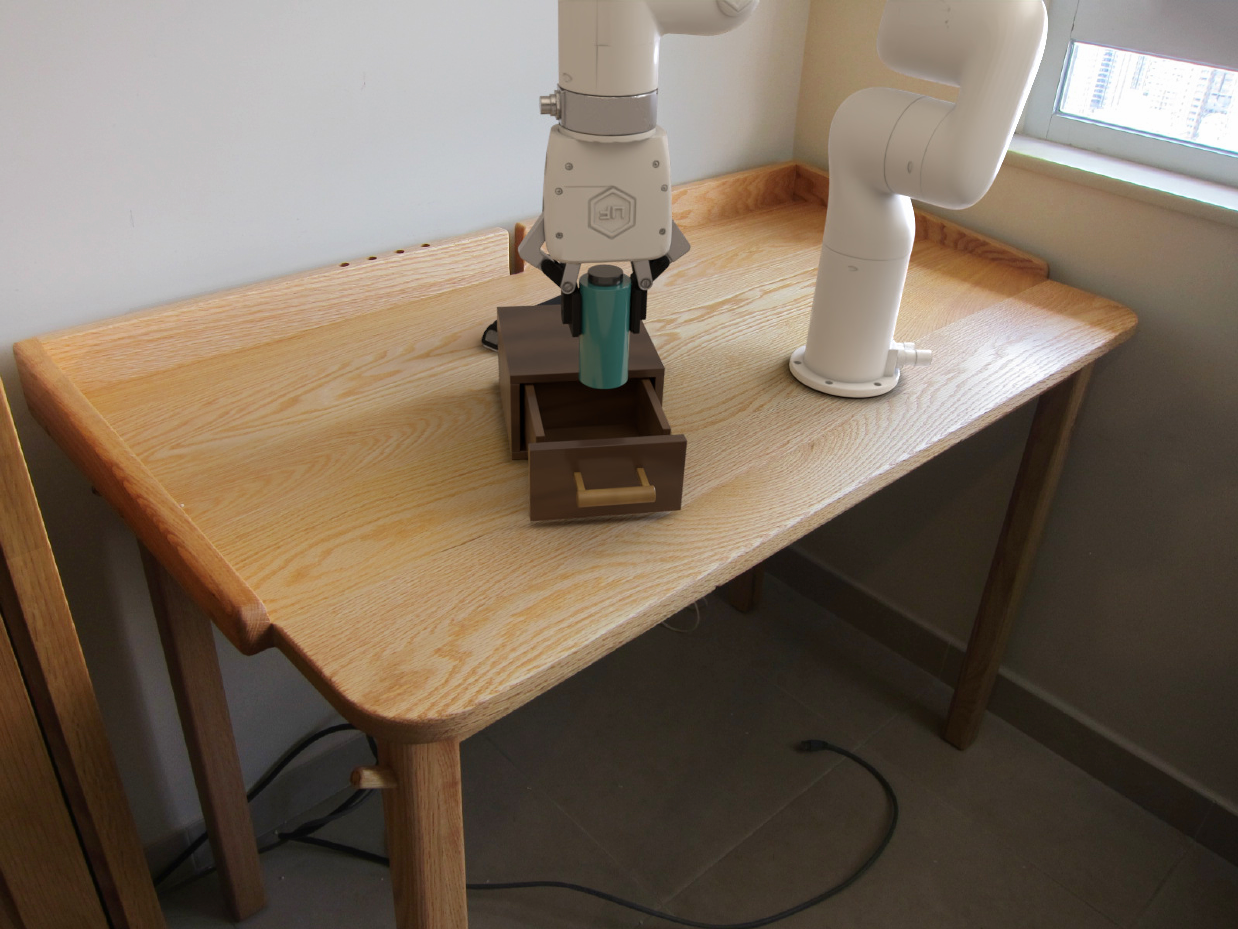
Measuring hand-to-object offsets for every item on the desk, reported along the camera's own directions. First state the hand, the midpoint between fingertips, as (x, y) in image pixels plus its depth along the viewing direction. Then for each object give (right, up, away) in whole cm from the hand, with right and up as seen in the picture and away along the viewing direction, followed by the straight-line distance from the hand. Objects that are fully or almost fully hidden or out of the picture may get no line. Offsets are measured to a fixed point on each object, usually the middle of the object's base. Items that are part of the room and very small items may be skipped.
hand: (603, 326), depth 85 cm
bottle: (0, -4, +2) cm, 5 cm away
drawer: (-1, -14, +7) cm, 15 cm away
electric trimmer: (-10, +5, +37) cm, 38 cm away
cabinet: (-3, -7, +19) cm, 21 cm away
